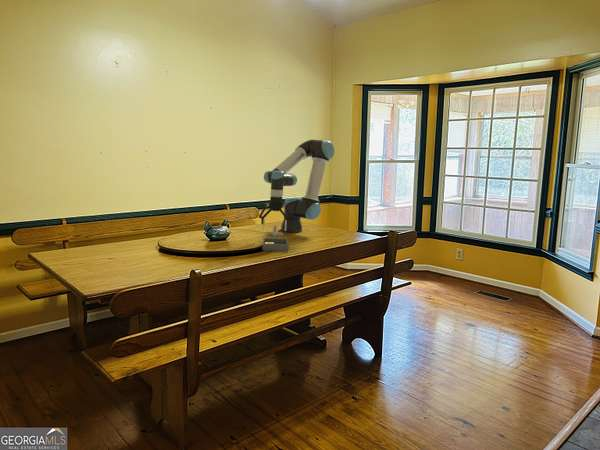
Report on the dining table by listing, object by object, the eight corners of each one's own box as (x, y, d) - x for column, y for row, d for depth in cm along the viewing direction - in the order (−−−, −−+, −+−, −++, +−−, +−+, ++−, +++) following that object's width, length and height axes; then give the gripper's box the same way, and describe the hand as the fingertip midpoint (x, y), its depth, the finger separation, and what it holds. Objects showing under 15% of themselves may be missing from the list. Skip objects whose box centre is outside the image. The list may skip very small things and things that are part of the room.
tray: (262, 244, 270) (262, 237, 269) (287, 245, 271) (287, 238, 271) (262, 250, 255) (262, 244, 255) (288, 251, 257) (288, 244, 256)
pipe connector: (283, 240, 283) (284, 224, 281) (281, 243, 274) (281, 227, 272) (267, 238, 284) (268, 223, 282) (265, 242, 275) (265, 226, 273)
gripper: (256, 195, 268) (254, 230, 272) (297, 198, 271) (294, 232, 275) (256, 194, 276) (254, 227, 280) (296, 196, 278) (294, 229, 282)
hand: (274, 230), depth 277 cm, fingers open, 13 cm apart
